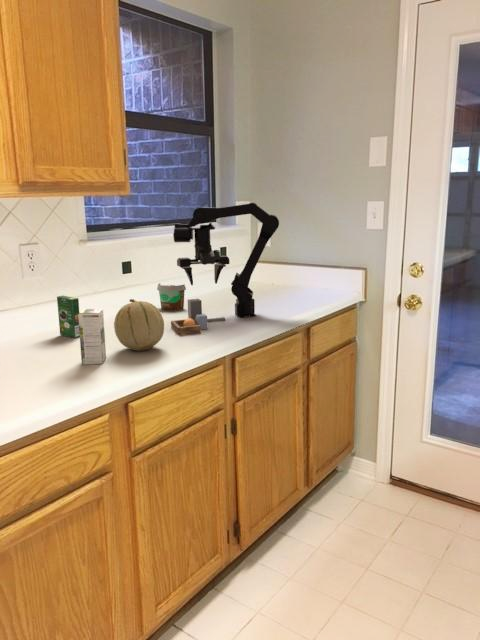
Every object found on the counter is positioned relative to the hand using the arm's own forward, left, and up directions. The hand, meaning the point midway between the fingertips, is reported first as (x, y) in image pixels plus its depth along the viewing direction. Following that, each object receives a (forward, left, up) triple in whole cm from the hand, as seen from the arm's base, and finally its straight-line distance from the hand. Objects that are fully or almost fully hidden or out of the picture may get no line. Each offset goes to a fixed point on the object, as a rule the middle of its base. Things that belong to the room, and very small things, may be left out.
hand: (204, 284), depth 198 cm
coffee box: (+49, +11, -12) cm, 52 cm away
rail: (+3, +10, -12) cm, 16 cm away
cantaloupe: (+30, +36, -12) cm, 48 cm away
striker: (+6, +14, -12) cm, 20 cm away
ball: (+11, +19, -10) cm, 24 cm away
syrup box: (+44, +43, -12) cm, 63 cm away
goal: (+12, +19, -12) cm, 26 cm away
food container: (+10, -17, -12) cm, 23 cm away
